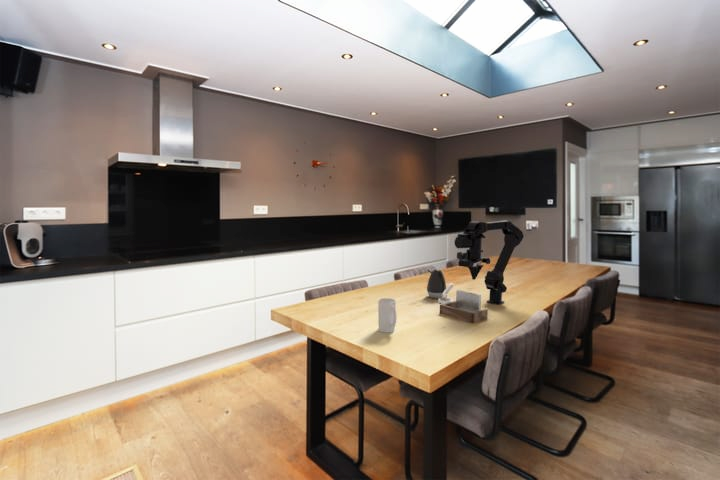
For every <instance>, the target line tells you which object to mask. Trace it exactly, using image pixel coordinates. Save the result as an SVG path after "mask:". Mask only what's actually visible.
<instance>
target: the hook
mask: <svg viewBox="0 0 720 480" xmlns="http://www.w3.org/2000/svg"><path fill="white" fill-rule="evenodd" d="M454 285H455V284H453V283H451V282H450V284H449V285H448V286H446V290H445V291H444V292H443V293H442V298H438V299H437V303H438V304H440V303H441V304H445V303H448V302H452V301H453V299H452V298H449V297H448V293H449V292H450V291H451V290H452V289H453V288H454ZM445 300H446V301H445ZM441 304H440V305H441Z"/></svg>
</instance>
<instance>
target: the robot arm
mask: <svg viewBox="0 0 720 480" xmlns="http://www.w3.org/2000/svg"><path fill="white" fill-rule="evenodd" d="M493 230H494V231H495V230H501V232H502V234H503V235H504V237H503V241H504V244H503V247H502V249H501V252H500V254H499V257H498V259H497V261H496V262H495V265H494V268H493V269H492V270H488V271H486V275H485V276H484V284H485V287H486V289H487V290H489V296H488V297H489V299H488V300H486V303H490V304H495V305H501V304H504V303H505V301H503V293H506V292H507V290H508V287H507V286H506V285H505V283H504V281H505V280H504V279H505V277H504V272H505V270H506V268H507V265H508V264H509V261H510V258H511V257H512V254H513V252H514V251H515V250H514V249H515V248H516V247H518V246H519V245H520V244H521V242H522V241H523V239H524V236H525V235H524V233H523V231H522V230H520V228H518V226H516V225H515V224H513V222H511V221H510V220H498V221H487V222H484V221H472V220H471V221H470V222H469V223H468V225H467V227H466V228H465V230H464V232H463V233H458V234H457V236H456V237H455V239H454V246H455V248H456V249H466V252H462V251H458V252H456V258H457V259H458V261H457V265H458V266H459V267H463V268H468V269H469V270H468V271H469V272H470V276H471V279H472V280H476V279H477V277H478V275H479V273H480V272H481V270H482V268H483V267H484V264H486V265H490V264H491V259H490V257H486V256H482V253H483V252H484V250H483V249H482V246H483V245H482V240H483V239H486V236H485V235H484V233H486V232H488V231H493ZM482 263H484V264H482Z"/></svg>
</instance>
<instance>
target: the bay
mask: <svg viewBox="0 0 720 480" xmlns="http://www.w3.org/2000/svg"><path fill="white" fill-rule="evenodd" d="M488 312H489V310H488V309H487V308H483V309H481V310H480V311H477V312H473V313H471V312H468V311H464V310H460V309H457V308H456V300H452V302H448V303H445V304H439V314H441V315H443V314H444V315H443V316H448V317H450V318H454V319H457V320H461V321H464V322H468V323H471V324H475V323H478V322H481V321H484V320H486V319H488V314H489V313H488Z"/></svg>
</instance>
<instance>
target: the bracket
mask: <svg viewBox="0 0 720 480" xmlns="http://www.w3.org/2000/svg"><path fill="white" fill-rule="evenodd" d="M455 301H456V308H457V309H460V310H464V311H468V312H471V313H473V312H477V311H480V310H482V309H481V307H482V306H481V305H482V294H478V293H473V292H469V291H464V290H461V289H457V290H456V291H455Z"/></svg>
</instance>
